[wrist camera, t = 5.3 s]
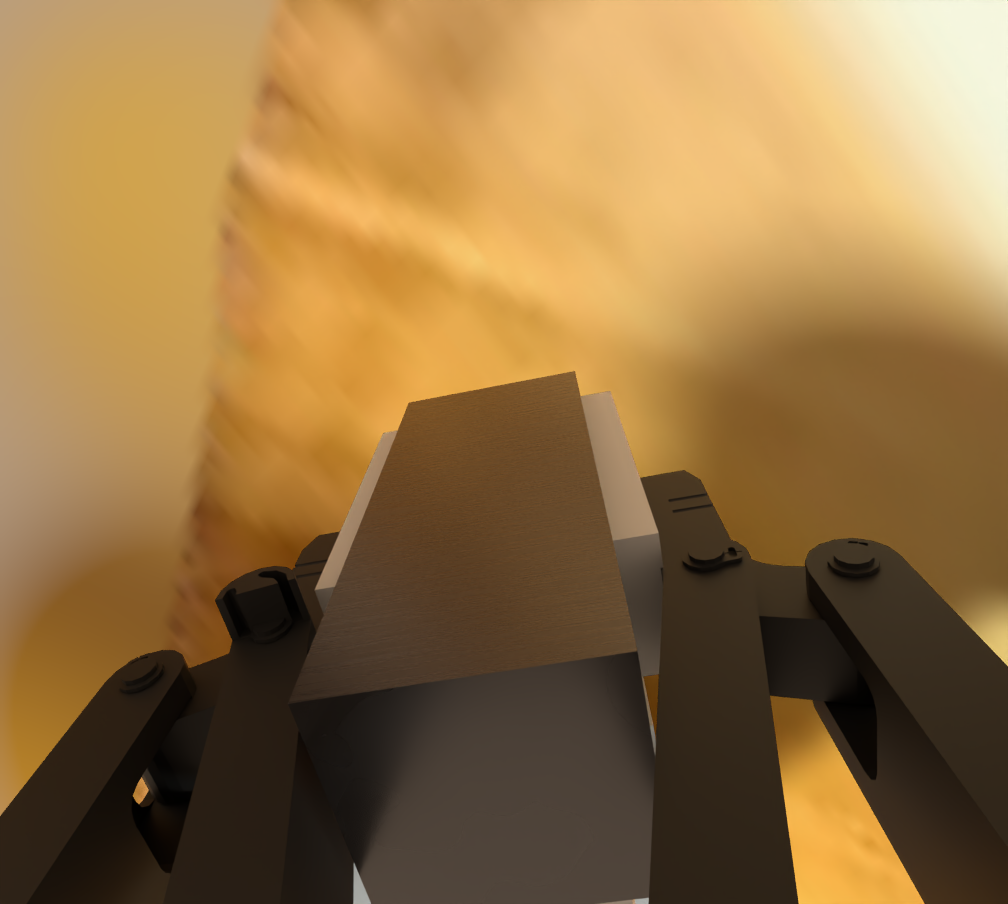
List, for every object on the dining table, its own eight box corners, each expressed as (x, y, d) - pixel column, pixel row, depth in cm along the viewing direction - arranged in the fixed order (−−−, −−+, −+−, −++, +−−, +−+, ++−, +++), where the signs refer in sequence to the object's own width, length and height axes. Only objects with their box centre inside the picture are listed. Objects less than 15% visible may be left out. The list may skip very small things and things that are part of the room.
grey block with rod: (574, 371, 17) (638, 650, 8) (661, 864, 24) (749, 1325, 15) (269, 428, 18) (8, 746, 9) (436, 891, 25) (386, 1346, 15)
